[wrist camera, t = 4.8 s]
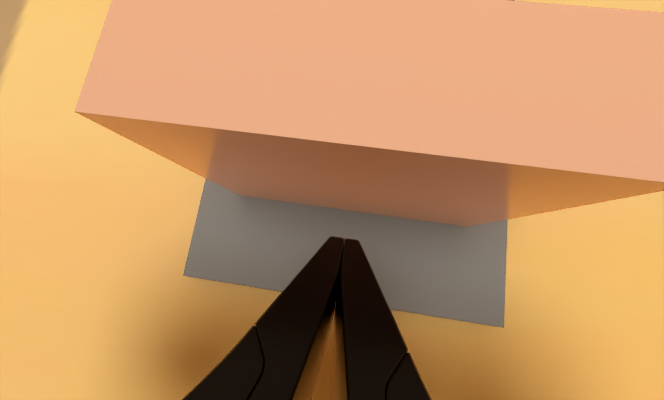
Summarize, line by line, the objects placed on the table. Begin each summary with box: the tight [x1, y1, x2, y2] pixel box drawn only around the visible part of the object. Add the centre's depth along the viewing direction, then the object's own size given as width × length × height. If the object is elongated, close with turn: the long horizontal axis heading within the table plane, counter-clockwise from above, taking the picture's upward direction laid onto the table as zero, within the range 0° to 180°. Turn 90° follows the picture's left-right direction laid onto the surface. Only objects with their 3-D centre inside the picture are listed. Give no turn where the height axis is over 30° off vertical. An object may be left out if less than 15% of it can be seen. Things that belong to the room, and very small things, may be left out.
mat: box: [183, 0, 515, 328], centre depth 15 cm, size 19×16×1 cm
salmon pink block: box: [75, 0, 664, 227], centre depth 10 cm, size 4×12×9 cm, turn 82°
